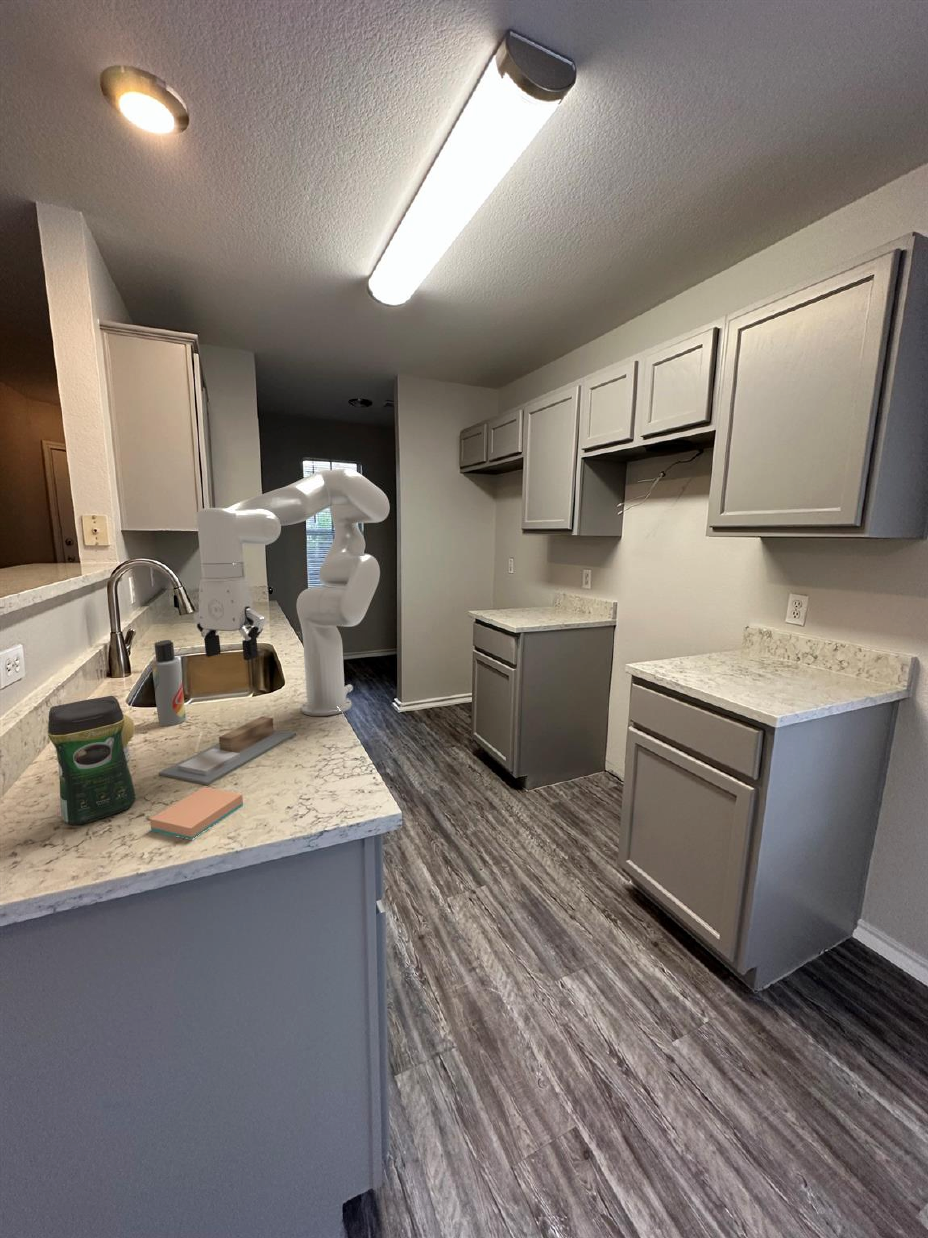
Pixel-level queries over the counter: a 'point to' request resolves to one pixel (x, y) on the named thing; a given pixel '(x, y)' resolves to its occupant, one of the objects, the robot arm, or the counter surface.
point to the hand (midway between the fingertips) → (232, 656)
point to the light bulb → (127, 735)
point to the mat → (244, 758)
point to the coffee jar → (91, 759)
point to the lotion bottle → (168, 685)
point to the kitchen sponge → (196, 813)
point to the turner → (230, 746)
